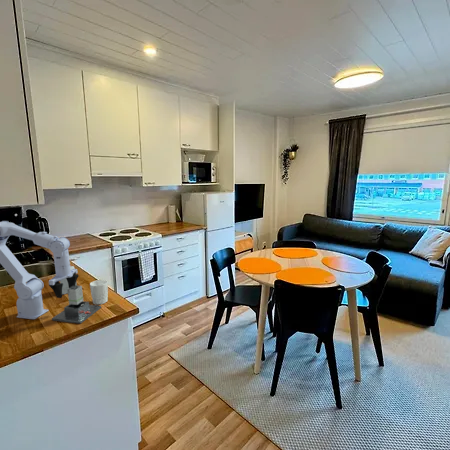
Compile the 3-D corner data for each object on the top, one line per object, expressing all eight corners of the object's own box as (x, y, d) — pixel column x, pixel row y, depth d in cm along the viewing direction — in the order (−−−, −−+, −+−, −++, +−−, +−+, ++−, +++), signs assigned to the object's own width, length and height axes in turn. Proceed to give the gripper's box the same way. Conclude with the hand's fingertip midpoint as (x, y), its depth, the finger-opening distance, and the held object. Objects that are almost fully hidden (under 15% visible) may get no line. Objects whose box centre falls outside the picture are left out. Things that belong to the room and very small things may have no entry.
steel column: (69, 304, 120) (67, 288, 119) (75, 299, 124) (74, 285, 123) (77, 304, 120) (75, 289, 118) (83, 300, 124) (82, 285, 122)
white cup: (111, 301, 135) (110, 282, 133) (95, 306, 130) (93, 287, 128) (104, 296, 140) (103, 278, 139) (89, 301, 135) (87, 282, 133)
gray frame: (52, 320, 118) (50, 310, 117) (75, 305, 131) (74, 296, 130) (80, 323, 115) (79, 313, 114) (101, 307, 129) (100, 298, 128)
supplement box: (77, 291, 146) (75, 269, 144) (61, 294, 142) (59, 272, 140) (76, 286, 152) (73, 265, 150) (60, 289, 148) (58, 268, 146)
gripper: (57, 271, 112) (61, 301, 114) (81, 260, 126) (84, 287, 128) (42, 270, 113) (46, 300, 116) (68, 259, 127) (71, 286, 130)
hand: (65, 293), depth 122 cm, fingers open, 7 cm apart
